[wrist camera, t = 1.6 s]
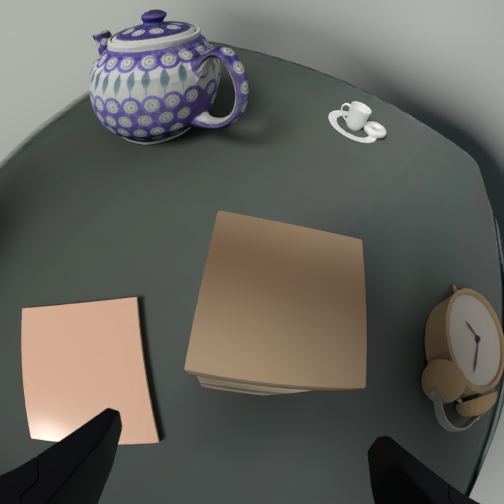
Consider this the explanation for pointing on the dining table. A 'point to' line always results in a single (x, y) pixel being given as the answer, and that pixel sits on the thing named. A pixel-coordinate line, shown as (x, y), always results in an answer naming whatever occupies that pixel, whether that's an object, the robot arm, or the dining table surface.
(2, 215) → the dining table surface
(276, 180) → the dining table surface
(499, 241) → the dining table surface
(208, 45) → the teapot
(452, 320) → the alarm clock
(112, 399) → the terracotta tile
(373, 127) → the teacup and saucer
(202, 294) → the ash post
